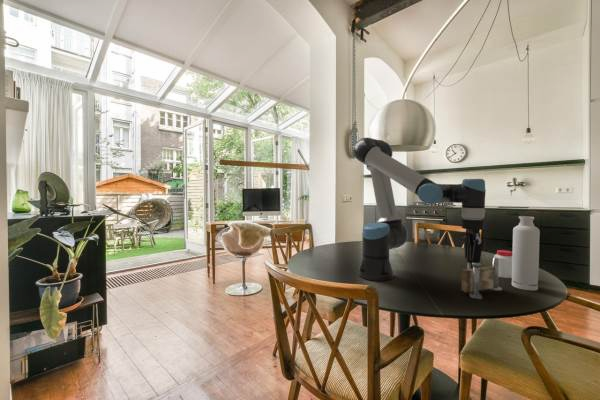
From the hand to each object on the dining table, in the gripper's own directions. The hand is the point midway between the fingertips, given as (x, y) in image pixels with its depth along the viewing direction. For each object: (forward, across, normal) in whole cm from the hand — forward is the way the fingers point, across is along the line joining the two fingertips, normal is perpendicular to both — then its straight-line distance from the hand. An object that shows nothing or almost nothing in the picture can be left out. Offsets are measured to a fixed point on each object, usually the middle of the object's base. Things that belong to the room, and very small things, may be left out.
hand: (471, 278), depth 106 cm
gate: (+3, -3, -1) cm, 4 cm away
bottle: (+4, +6, -21) cm, 23 cm away
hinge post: (+4, +1, -9) cm, 10 cm away
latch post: (+4, -9, +2) cm, 10 cm away
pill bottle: (+5, +20, -21) cm, 30 cm away
